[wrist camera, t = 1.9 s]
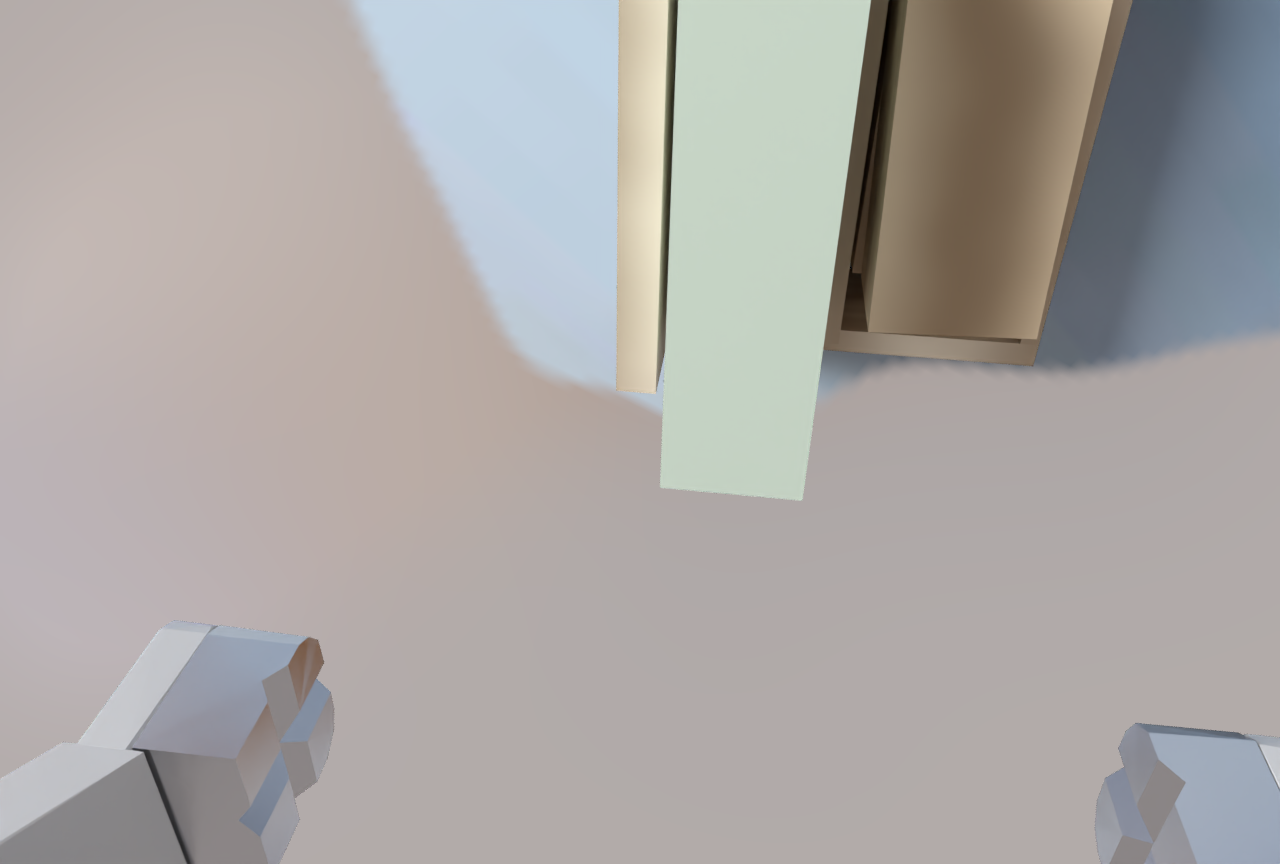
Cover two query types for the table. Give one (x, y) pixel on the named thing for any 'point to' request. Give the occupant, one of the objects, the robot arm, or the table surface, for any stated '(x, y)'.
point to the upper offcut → (976, 161)
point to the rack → (648, 202)
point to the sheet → (754, 234)
